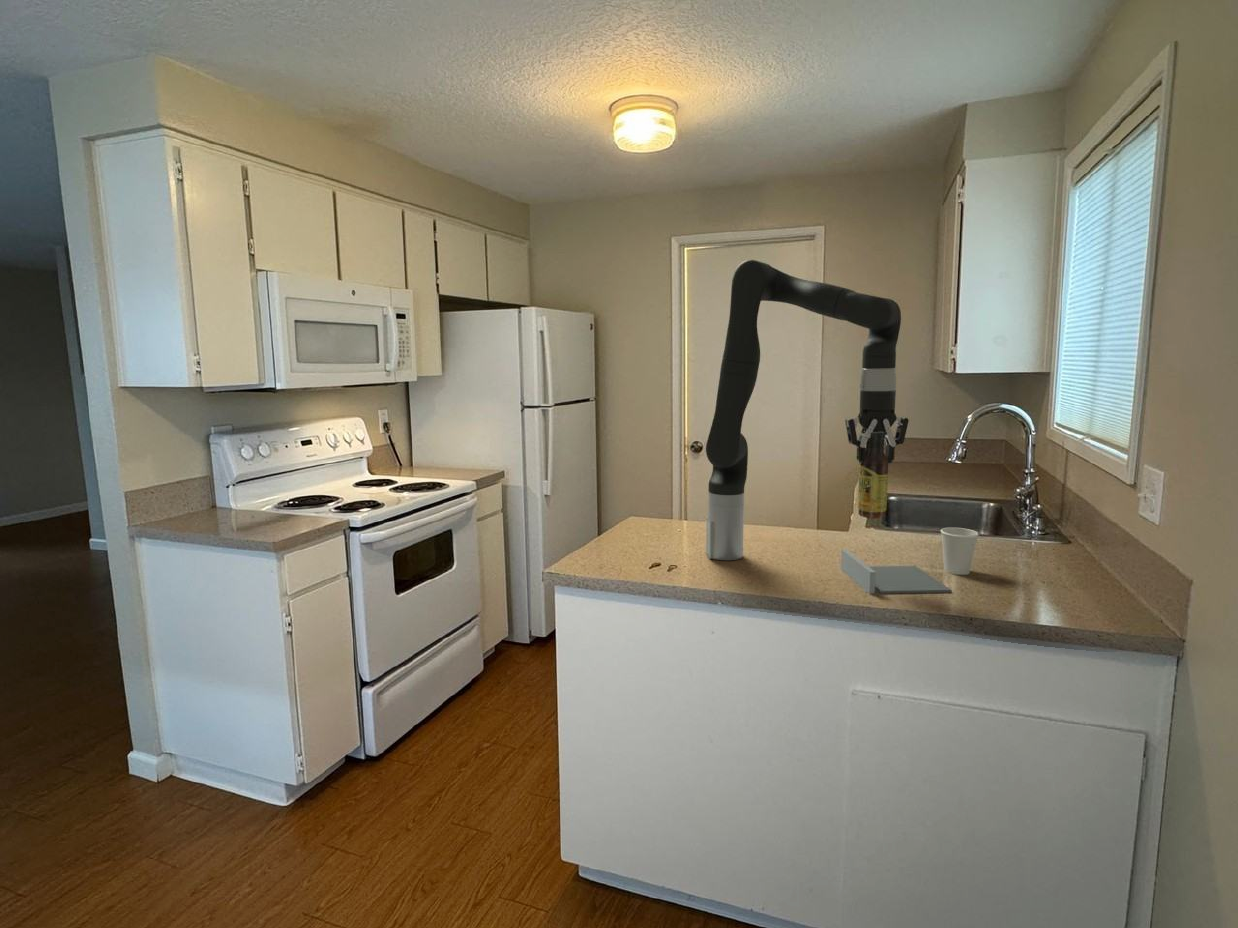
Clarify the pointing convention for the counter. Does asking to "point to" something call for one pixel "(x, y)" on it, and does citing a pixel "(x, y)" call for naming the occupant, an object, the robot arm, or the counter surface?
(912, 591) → the slate mat
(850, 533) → the counter surface
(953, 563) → the dixie cup
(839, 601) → the counter surface
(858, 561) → the low wall
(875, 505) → the sauce bottle
